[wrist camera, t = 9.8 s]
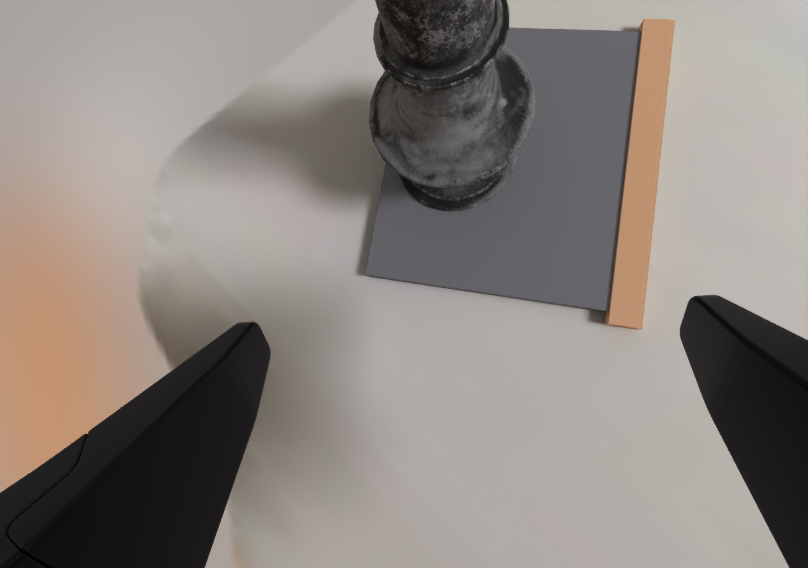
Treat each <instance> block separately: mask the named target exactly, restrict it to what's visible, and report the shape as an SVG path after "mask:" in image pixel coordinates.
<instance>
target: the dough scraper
mask: <svg viewBox="0 0 808 568" xmlns="http://www.w3.org/2000/svg"><path fill="white" fill-rule="evenodd" d="M674 24H675V20H665V19H644V20H643V21H642V23H641V25H640V27H639V31H604V30H569V29H533V28H509V30H508V33H507V36H506V39H505V43H504V46H506V47H507V48H508V49H509V50H510V51H512V52H513V53H514V54H515V55H516V56H518V57H519V59H520V60H521V62H522V63H523V65H524V66H525V68H526V69H527V71H528V72H529V74H530V77H531V81H532V84H533V88H534V91H535V116H534V119H533V123H532V126H531V129H530V132H529V136H528V138H527V139H526V141H525V142H524V144H523V145H522V147H521V149H520V150H519V152H518V153H517V159H516V163H515V166H514V169H513V172H512V175H511V176H510V178H509V180H508V181H507V183H506V184H505V186H504V187H503V189H501V190H500V191H499V192H498V193H497V194H496V195H495V196H494V197H493V198H492V199H490V200H489V201H487V202H485V203H483V204H481V205H479V206H477V207H475V208H471V209H467V210H463V211H442V210H438V209H434V208H431V207H428V206H426V205H425V204H423V203H421V202H419V201H418V200H416V199H415V198H414V197H413V196H412V195H411V194H410V193H409V192H408V191H407V190H406V189H405V187H404V185H403V183H402V181H401V179H400V177H399V175H398V173H396V172H395V171H394V170H393V169H392V167H391V166H390V165H389V164H388V163H387V162H386V165H385V171H384V176H383V182H382V187H381V192H380V198H379V203H378V209H377V214H376V219H375V225H374V230H373V235H372V241H371V246H370V252H369V257H368V262H367V268H366V273H365V275H367V276H371V277H377V278H384V279H391V280H397V281H404V282H411V283H417V284H424V285H430V286H437V287H444V288H450V289H457V290H464V291H470V292H477V293H484V294H490V295H497V296H504V297H510V298H517V299H524V300H530V301H537V302H544V303H550V304H557V305H563V306H570V307H577V308H583V309H590V310H597V311H603V312H606V316H605V324H606V325H612V326H619V327H625V328H632V329H642V325H643V316H644V306H645V297H646V287H647V278H648V269H649V259H650V250H651V240H652V231H653V222H654V212H655V203H656V193H657V184H658V174H659V165H660V156H661V146H662V137H663V127H664V118H665V108H666V99H667V90H668V80H669V71H670V61H671V52H672V43H673V33H674Z"/></svg>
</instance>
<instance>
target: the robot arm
mask: <svg viewBox="0 0 808 568" xmlns="http://www.w3.org/2000/svg"><path fill="white" fill-rule="evenodd" d="M680 338H681V341H682V344H683V346H684V349H685V352H686V354H687V357H688V360H689V362H690V365H691V368H692V370H693V373H694V376H695V378H696V381H697V384H698V386H699V389H700V392H701V394H702V397H703V399H704V402H705V404H706V407H707V409H708V411H709V413H710V415H711V417H712V419H713V421H714V423H715V425H716V427H717V429H718V431H719V433H720V435H721V437H722V439H723V441H724V443H725V444H726V446H727V448H728V450H729V452H730V454H731V456H732V458H733V460H734V462H735V464H736V466H737V468H738V470H739V471H740V473H741V475H742V477H743V479H744V481H745V483H746V485H747V487H748V489H749V491H750V493H751V495H752V497H753V498H754V500H755V502H756V504H757V506H758V508H759V510H760V512H761V514H762V516H763V518H764V520H765V522H766V524H767V525H768V527H769V529H770V531H771V533H772V535H773V537H774V539H775V541H776V543H777V545H778V547H779V549H780V551H781V552H782V554H783V556H784V558H785V560H786V562H787V564H788V566H789V568H808V340H806V339H804V338H802V337H800V336H798V335H796V334H794V333H792V332H790V331H788V330H786V329H784V328H782V327H780V326H778V325H776V324H774V323H772V322H770V321H768V320H766V319H764V318H762V317H760V316H758V315H756V314H754V313H752V312H750V311H748V310H746V309H744V308H742V307H740V306H738V305H736V304H734V303H732V302H730V301H728V300H726V299H724V298H722V297H720V296H718V295H702V296H694V297H692V298H691V299H690V300H689V302H688V305H687V308H686V311H685V314H684V317H683V320H682V323H681V326H680ZM270 354H271V353H270V347H269V345H268V343H267V341H266V338H265V336H264V334H263V332H262V330H261V328H260V326H259V325H258V324H257V323H256V322H241V323H237V324H236V325H234V326H233V327H232V328H230V329H229V330H227V331H226V332H225V333H223V334H222V335H221V336H219V337H218V338H216V339H215V340H214V341H212V342H211V343H210V344H208V345H207V346H205V347H204V348H203V349H201V350H200V351H199V352H197V353H196V354H194V355H193V356H192V357H190V358H189V359H187V360H186V361H185V362H183V363H182V364H181V365H179V366H178V367H176V368H175V369H174V370H172V371H171V372H170V373H168V374H167V375H166V376H164V377H163V378H162V379H160V380H159V381H157V382H156V383H154V384H153V385H152V386H150V387H149V388H148V389H146V390H145V391H143V392H142V393H141V394H139V395H138V396H137V397H135V398H134V399H133V400H131V401H130V402H128V403H127V404H126V405H124V406H123V407H121V408H120V409H119V410H117V411H116V412H115V413H113V414H112V415H110V416H109V417H108V418H106V419H105V420H103V421H102V422H101V423H99V424H98V425H97V426H95V427H94V428H92V429H91V430H90V431H89V432H88V434H84V435H83V436H81V437H80V438H79V439H77V440H76V441H75V442H73V443H72V444H70V445H69V446H68V447H66V448H65V449H64V450H62V451H61V452H59V453H58V454H56V455H55V456H54V457H52V458H51V459H49V460H48V461H47V462H45V463H44V464H42V465H41V466H39V467H38V468H37V469H35V470H34V471H32V472H31V473H29V474H28V475H26V476H25V477H23V478H22V479H20V480H19V481H17V482H16V483H14V484H13V485H11V486H10V487H8V488H7V489H5V490H4V491H2V492H1V493H0V568H205V565H206V562H207V559H208V557H209V553H210V551H211V548H212V545H213V542H214V539H215V536H216V533H217V530H218V528H219V525H220V522H221V519H222V516H223V513H224V510H225V507H226V504H227V501H228V499H229V496H230V493H231V490H232V487H233V484H234V481H235V478H236V475H237V472H238V470H239V467H240V464H241V461H242V458H243V455H244V452H245V449H246V446H247V443H248V441H249V438H250V435H251V432H252V429H253V426H254V423H255V420H256V416H257V413H258V409H259V405H260V400H261V396H262V391H263V387H264V383H265V378H266V374H267V370H268V365H269V361H270Z"/></svg>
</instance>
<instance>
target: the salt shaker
mask: <svg viewBox="0 0 808 568" xmlns="http://www.w3.org/2000/svg"><path fill="white" fill-rule="evenodd" d="M375 1H376V4H377V8H378V11H379V13H378V16H377V19H376V22H375V26H374V38H373V40H374V45H375V50H376V55H377V57H378V59H379V61H380V63H381V65H382V66H383V68H384V70H385V72H384V73H383V75H382V76H381V78H380V79H379V81H378V82H377V85H376V88H375V90H374V93H373V96H372V99H371V102H370V116H369V123H370V128H371V133H372V138H373V141H374V143H375V145H376V147H377V149H378V151H379V153H380V154H381V156H382V158H383V159H384V160H385V161H386V162H387V163H388V164H389V165H390V166H391V167H392V169H393V170H394V171H395V172H396V173H398V175H399V177H400V179H401V181H402V183H403V185H404V187H405V189H406V190H407V191H408V192H409V193H410V194H411V195H412V196H413V197H414V198H415V199H416V200H418V201H419V202H421V203H423V204H425V205H426V206H428V207H431V208H434V209H438V210H442V211H463V210H467V209H471V208H475V207H477V206H479V205H481V204H483V203H485V202H487V201H489V200H490V199H492V198H493V197H494V196H495V195H496V194H497V193H498V192H499V191H500V190H501V189H503V187H504V186H505V184H506V183H507V181H508V180H509V178H510V176H511V175H512V172H513V169H514V166H515V163H516V159H517V153H518V152H519V150H520V149H521V147H522V145H523V144H524V142H525V141H526V139H527V138H528V136H529V132H530V129H531V126H532V123H533V119H534V116H535V91H534V88H533V84H532V81H531V77H530V74H529V72H528V71H527V69H526V68H525V66H524V65H523V63H522V62H521V60H520V59H519V57H518V56H516V55H515V54H514V53H513V52H512V51H510V50H509V49H508V48H507V47H506V46H504V43H505V39H506V36H507V33H508V30H509V7H508V4H507V0H375Z"/></svg>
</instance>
